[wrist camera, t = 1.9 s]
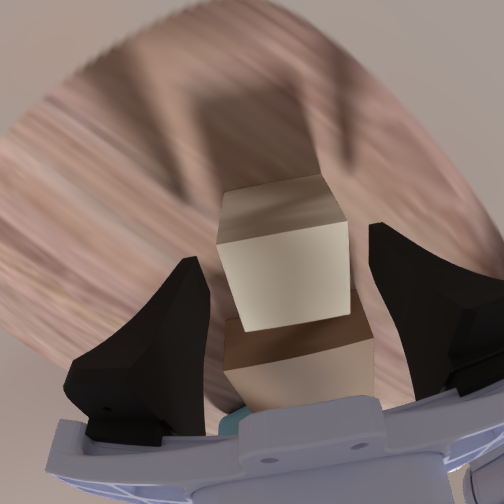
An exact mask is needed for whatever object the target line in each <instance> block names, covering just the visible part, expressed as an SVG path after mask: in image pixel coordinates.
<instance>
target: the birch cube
mask: <svg viewBox="0 0 504 504" xmlns="http://www.w3.org/2000/svg"><path fill="white" fill-rule="evenodd" d="M216 246H217V250H218V253H219V256H220V259H221V262H222V265H223V268H224V271H225V274H226V277H227V280H228V283H229V286H230V289H231V292H232V295H233V298H234V301H235V304H236V307H237V310H238V313H239V316H240V318H241V321H242V324H243V327H244V330H245V332H250V331H257V330H263V329H270V328H276V327H282V326H288V325H294V324H300V323H306V322H311V321H317V320H322V319H327V318H332V317H338V316H343V315H348V314H350V263H349V238H348V221H347V219H346V217H345V215H344V213H343V212H342V210H341V208H340V206H339V204H338V202H337V201H336V199H335V197H334V195H333V193H332V192H331V190H330V188H329V186H328V185H327V183H326V181H325V179H324V178H323V176H322V174H317V175H311V176H306V177H300V178H294V179H289V180H283V181H278V182H272V183H267V184H262V185H257V186H252V187H247V188H242V189H237V190H232V191H227V192H224V196H223V203H222V209H221V215H220V222H219V228H218V235H217V242H216Z"/></svg>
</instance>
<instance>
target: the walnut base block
mask: <svg viewBox="0 0 504 504" xmlns="http://www.w3.org/2000/svg"><path fill="white" fill-rule="evenodd" d="M223 372H224V374H225V375H226V377H227V378H228V379H229V381H230V382H231V384H232V385H233V387H234V388H235V390H236V391H237V393H238V394H239V395H240V397H241V398H242V400H243V401H244V403H245V404H246V405H247V407H248V408H249V410H250V411H251V412H252V413H256V412H260V411H264V410H269V409H277V408H285V407H292V406H298V405H305V404H311V403H316V402H322V401H327V400H333V399H338V398H343V397H347V396H357V395H367V396H371V397H374V337H373V334H372V331H371V328H370V326H369V323H368V320H367V317H366V315H365V312H364V309H363V307H362V304H361V301H360V299H359V296H358V293H357V291H356V290H353V291H350V314H348V315H343V316H338V317H332V318H327V319H322V320H317V321H311V322H306V323H300V324H294V325H288V326H282V327H276V328H270V329H263V330H257V331H250V332H245V330H244V327H243V324H242V321H241V318H236V319H231V320H227V321H226V323H225V340H224V359H223Z"/></svg>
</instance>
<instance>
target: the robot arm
mask: <svg viewBox="0 0 504 504" xmlns="http://www.w3.org/2000/svg"><path fill="white" fill-rule="evenodd" d="M369 267H370V270H371V273H372V276H373V278H374V281H375V284H376V286H377V288H378V290H379V292H380V294H381V296H382V298H383V300H384V302H385V304H386V306H387V308H388V310H389V313H390V315H391V317H392V319H393V321H394V323H395V325H396V328H397V330H398V333H399V336H400V339H401V342H402V346H403V349H404V352H405V356H406V359H407V363H408V367H409V371H410V375H411V380H412V384H413V388H414V394H415V399H416V401H415V402H412V403H409V404H405V405H402V406H398V407H395V408H391V409H387V410H383V411H382V407H381V404H380V401H379V399H377V398H375V397H371V396H367V395H357V396H347V397H343V398H338V399H333V400H327V401H322V402H316V403H311V404H305V405H298V406H292V407H285V408H277V409H269V410H264V411H260V412H256V413H251V414H250V415H248V416H247V417H245V418H244V419H242V420H241V421H239V429H238V434H236V435H219V436H206V432H205V419H204V395H203V365H204V354H205V347H206V340H207V333H208V326H209V319H210V290H209V288H208V285H207V283H206V280H205V277H204V275H203V272H202V269H201V267H200V264H199V261H198V259H197V256H193V257H188V258H183V259H182V260H181V261H180V262H179V264H178V265H177V266H176V267H175V269H174V270H173V271H172V273H171V274H170V275H169V277H168V278H167V279H166V281H165V282H164V283H163V284H162V286H161V287H160V288H159V289H158V291H157V292H156V293H155V294H154V295H153V297H152V298H151V299H150V300H149V301H148V302H147V304H146V305H145V306H144V307H143V308H142V309H141V310H140V311H139V312H138V313H137V314H136V315H135V316H134V317H133V318H132V319H131V320H130V321H129V322H128V323H126V324H125V325H124V326H123V327H122V328H121V329H119V330H118V331H117V332H116V333H115V334H113V335H112V336H111V337H109V338H108V339H107V340H105V341H104V342H103V343H101V344H100V345H98V346H97V347H95V348H94V349H92V350H90V351H89V352H87V353H85V354H84V355H82V356H80V357H78V358H77V359H75V360H73V362H72V364H71V367H70V369H69V372H68V375H67V378H66V380H65V383H64V386H63V389H64V392H65V394H66V396H67V397H68V399H69V400H71V402H72V403H73V404H75V406H77V407H78V408H79V409H80V410H81V411H82V412H83V413H84V414H86V415H87V416H88V417H89V420H88V424H85V423H83V422H79V421H73V420H64V419H60V420H59V423H58V425H57V429H56V432H55V435H54V439H53V442H52V446H51V450H50V453H49V457H48V461H47V465H46V469H45V471H46V472H47V473H49V474H50V475H52V476H54V477H56V478H58V479H59V480H61V481H63V482H65V483H67V484H69V485H71V486H73V487H75V488H76V489H79V490H81V491H83V492H86V493H90V494H93V495H97V496H102V497H106V498H110V499H115V500H119V501H124V502H129V503H134V504H454V500H453V495H452V491H451V487H450V484H449V480H448V476H447V472H449V471H451V470H453V469H456V468H458V467H460V466H462V465H464V464H466V463H468V462H469V465H470V467H469V468H468V469H467V470H466V473H465V475H464V478H463V494H464V499H465V502H466V504H504V280H499V279H495V278H491V277H488V276H484V275H481V274H478V273H475V272H472V271H469V270H467V269H464V268H462V267H459V266H457V265H454V264H452V263H450V262H448V261H446V260H444V259H442V258H440V257H438V256H436V255H434V254H432V253H431V252H429V251H427V250H425V249H424V248H422V247H420V246H419V245H417V244H416V243H414V242H412V241H411V240H409V239H408V238H406V237H405V236H403V235H402V234H400V233H399V232H397V231H396V230H394V229H393V228H391V227H390V226H388V225H386V224H385V223H383V222H380V223H375V224H369Z"/></svg>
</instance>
